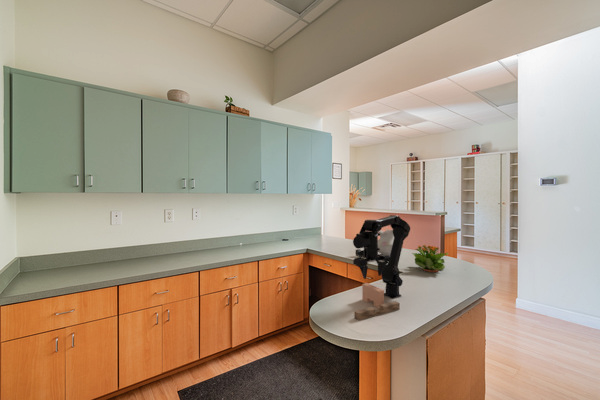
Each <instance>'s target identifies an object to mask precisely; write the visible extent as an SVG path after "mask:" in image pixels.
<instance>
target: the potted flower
mask: <svg viewBox="0 0 600 400" xmlns="http://www.w3.org/2000/svg"><path fill="white" fill-rule="evenodd" d="M439 249H440V248H439V246H438V247H437V246H434V245H426V244H423V245H422V246H421V245H418V247H417V248H416V249H414V250H415V251H418V252H415V253H414V252H412V255H413V256H414V257H415V258H414V263H415V265H416V266H417V267H419V268H421V269H423V271H425V272H428V273H437V272H438V271H443V270H444V269H445V268H446V265H445V263H446V262H445V259H444V258H443V257H444V256H446V255H449V252H440V253H439ZM437 252H438V253H437Z"/></svg>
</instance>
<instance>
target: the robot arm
mask: <svg viewBox="0 0 600 400" xmlns="http://www.w3.org/2000/svg"><path fill="white" fill-rule="evenodd" d="M388 226H390V228H391V230H393V235H394V241H393V245H392V249H391V253H390V257H389V255H385V254H381V253H379V252H378V250H380V248H378V240H379V237H380V233H379V232H378V231H382V228H385V227H388ZM410 231H411V226H410V224H409V223H408V222H407V221H405V220H404V219H402V218H401V217H400V216H399V215H394V214H393V215H392V214H391V215H389V216H385V217H382V218H378V219H365V220H364V221H363V224H362V226H361V228H360V230H359V232H358V233H356V236H354V238H353V239H352V244H353V246H354V247H355V256H356V257H355V258H354V259H353V260H352V261H353V264H352V265H355V266H357V267H358V268H359V269H360V272H361V274H362V277H363V279H364V280H366V279H367V277H368V276H367V275H368V274H367V273H368V269H369V266H368V263H373V262H376V263H377V274H378V277H381V279H382V283H385V292H384V296H387V297H389V298H391V299H395V298H399V297H402V294H400V287H401V286H402V285H403V282H404V280H403V279H402V278H401V277H400V274H401V272H400V269H399V266H398V265H399V262H400V259H401V258H400V257H401V255H402V250H403V245H404V241H405V239H407V238H408V236H409V234H410ZM361 249H363V250H361Z"/></svg>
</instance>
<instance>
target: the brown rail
mask: <svg viewBox="0 0 600 400" xmlns="http://www.w3.org/2000/svg"><path fill="white" fill-rule="evenodd" d="M398 310H400V302H398V301H397V300H395V301H391V302H387V303H384V304H382V305H380V308H374V307H372V306H370V307H366V308H361V309H357V310H355V311H354V316H353V317H354V319H355V320H356V321H361V320H365V319H369V318H373V317H376V316H380V315H384V314H388V313H392V312H394V311H398Z"/></svg>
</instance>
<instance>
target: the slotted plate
mask: <svg viewBox="0 0 600 400" xmlns="http://www.w3.org/2000/svg"><path fill="white" fill-rule="evenodd" d="M361 291H362V293H361V294H362V295H361V296H362V300H363V301H364V302H366V303H369V302H373V306H375V308H377V309H379V308H380V305H382V304H385V295H384V293H385V290H384V289H382V288H380V287H378V286H375V285H373V284H370V283H368V282H365V283H362V289H361Z"/></svg>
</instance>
